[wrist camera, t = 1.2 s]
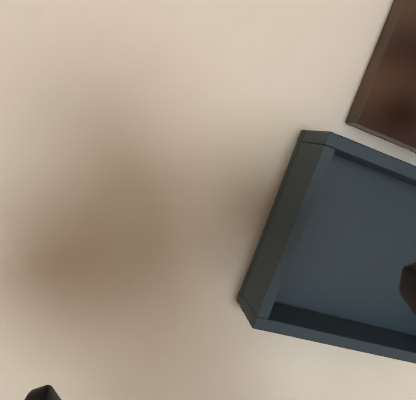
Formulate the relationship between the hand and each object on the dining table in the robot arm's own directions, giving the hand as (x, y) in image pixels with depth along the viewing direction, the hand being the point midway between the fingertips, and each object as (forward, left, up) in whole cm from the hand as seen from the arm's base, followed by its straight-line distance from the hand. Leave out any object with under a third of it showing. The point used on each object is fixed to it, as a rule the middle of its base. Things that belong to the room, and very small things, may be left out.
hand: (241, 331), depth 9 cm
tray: (-11, -10, -14) cm, 21 cm away
